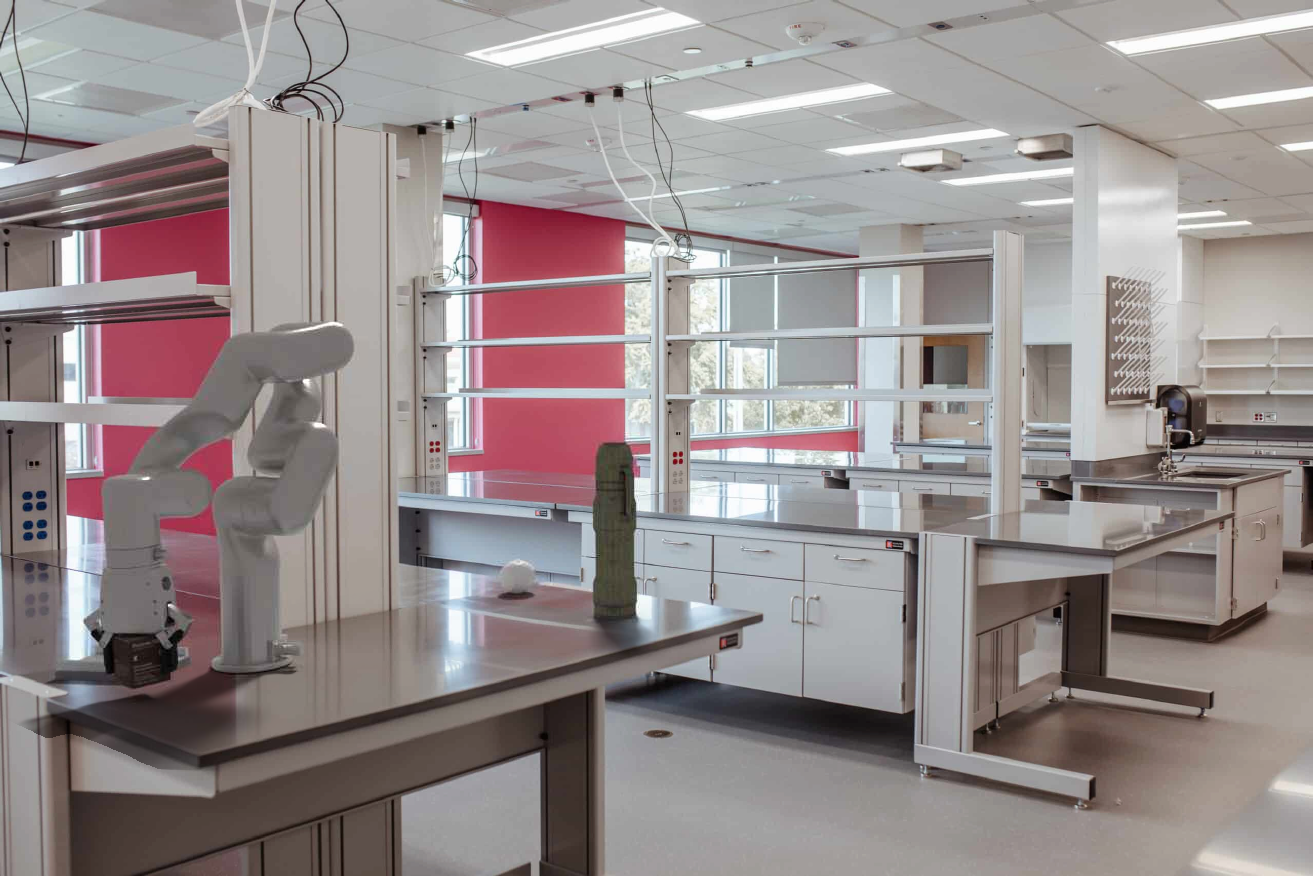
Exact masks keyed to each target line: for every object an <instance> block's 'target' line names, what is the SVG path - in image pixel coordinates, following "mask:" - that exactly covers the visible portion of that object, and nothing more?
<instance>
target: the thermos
mask: <svg viewBox="0 0 1313 876" xmlns="http://www.w3.org/2000/svg"><path fill="white" fill-rule="evenodd" d="M595 455H596V456H595V471H594V475H595V476H594V477H595V496H594V498H593V502H592V529H593V531H594V533H595V534H594V535H595V541H594V542H595V547H594V548H595V576H594V579H593V582H592V602H593V606H594V608H593V616H594V617H595V618H598V619H603V620H625V619H632V618H634V617H636V616H637V603H638V582H637V579H636V576H635V533H636V530H637V501H636V499H635V473H634V456H633V453H632V450H631V447H630V444H627V443H626V442H624V441H623V442H621V441H619V442H617V441H613V442H611V441H609V442H602V444H599V445H598V449H597V451H596V454H595Z"/></svg>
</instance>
